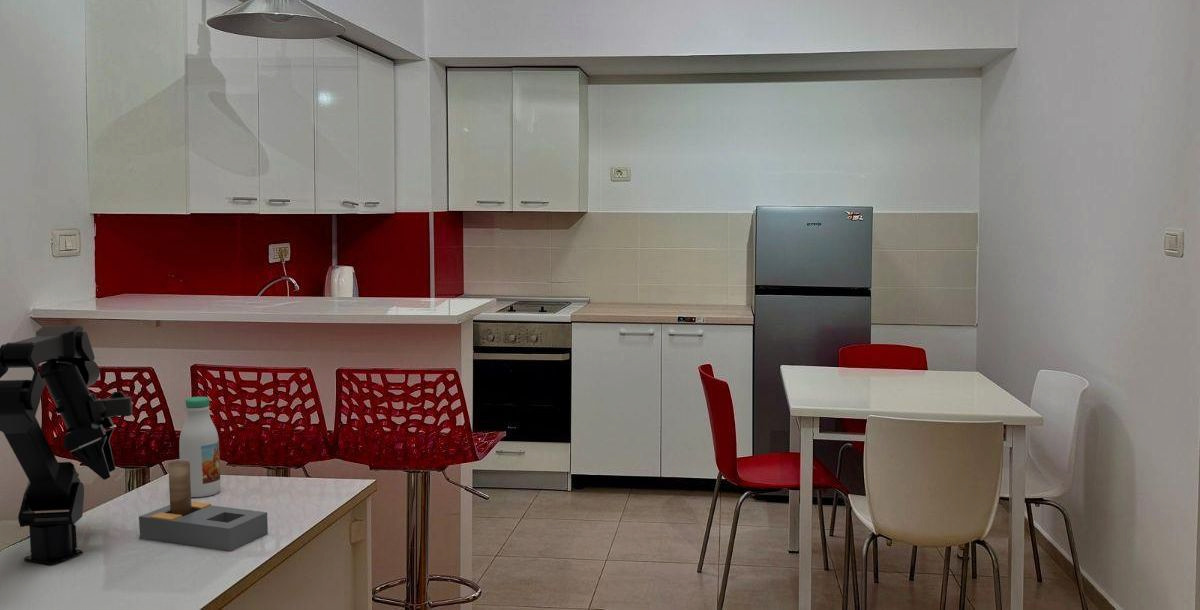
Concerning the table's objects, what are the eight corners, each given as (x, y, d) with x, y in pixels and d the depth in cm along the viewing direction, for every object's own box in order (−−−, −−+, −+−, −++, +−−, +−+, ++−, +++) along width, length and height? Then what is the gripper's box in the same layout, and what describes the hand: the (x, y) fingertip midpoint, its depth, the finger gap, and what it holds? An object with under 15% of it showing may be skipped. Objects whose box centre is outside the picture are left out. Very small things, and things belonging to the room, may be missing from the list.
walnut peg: (182, 537, 185) (179, 466, 184) (166, 534, 186) (163, 464, 185) (196, 531, 188) (194, 461, 187) (181, 528, 190) (178, 460, 188)
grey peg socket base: (267, 533, 187) (267, 510, 186) (230, 551, 178) (229, 527, 177) (180, 521, 194) (179, 499, 193) (139, 538, 184) (138, 514, 184)
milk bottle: (188, 500, 208) (185, 403, 206) (175, 492, 213) (171, 397, 211) (226, 493, 213) (223, 398, 211) (212, 485, 218) (209, 393, 216)
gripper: (112, 379, 174) (152, 461, 177) (122, 373, 192) (158, 447, 194) (44, 407, 171) (86, 491, 173) (60, 398, 188) (98, 474, 191)
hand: (110, 474), depth 183 cm, fingers open, 9 cm apart
